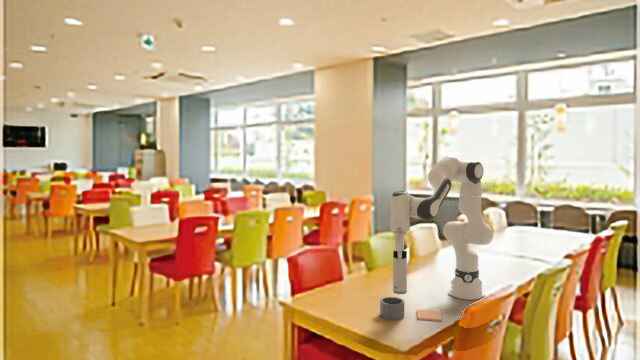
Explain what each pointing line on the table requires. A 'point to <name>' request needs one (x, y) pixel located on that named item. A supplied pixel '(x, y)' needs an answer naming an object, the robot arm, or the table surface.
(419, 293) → the table surface
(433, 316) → the terracotta tile
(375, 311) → the table surface
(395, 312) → the faceted gray cup
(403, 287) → the travel mug
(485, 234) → the robot arm
